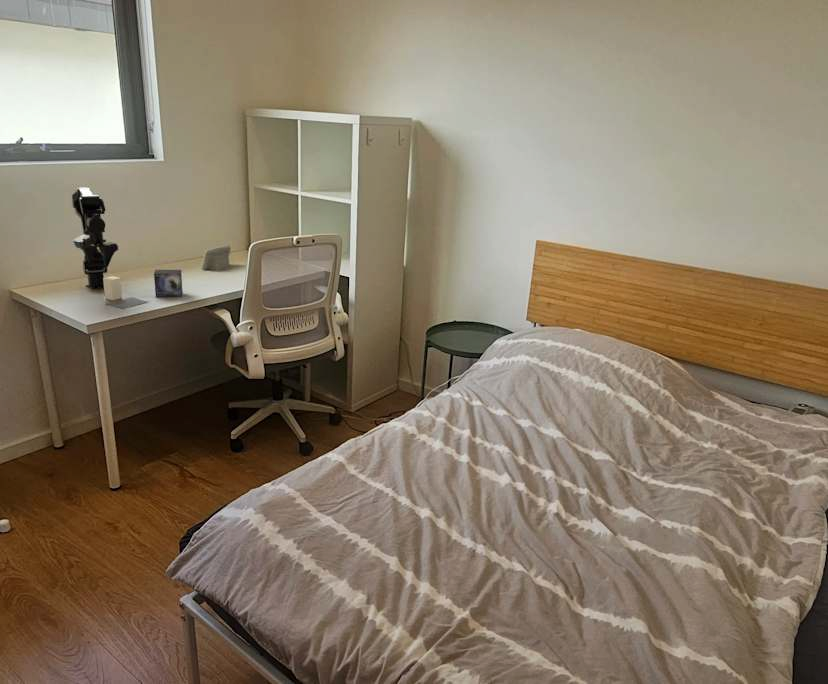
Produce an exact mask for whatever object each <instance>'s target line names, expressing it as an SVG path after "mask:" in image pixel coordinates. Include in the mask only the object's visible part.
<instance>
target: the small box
mask: <svg viewBox="0 0 828 684" xmlns="http://www.w3.org/2000/svg"><path fill="white" fill-rule="evenodd" d="M153 278H154V291H155V293H154V294H155V298H170V297H171V298H182V297H183V293H184V291H183V279H182V269H155V270H154V273H153Z"/></svg>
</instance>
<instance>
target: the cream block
mask: <svg viewBox="0 0 828 684" xmlns="http://www.w3.org/2000/svg"><path fill="white" fill-rule="evenodd" d="M121 282H122V281H121V277H118V276H111V275H110V276H107V277H104V278H103V283H104V287H103V289H104V298H105V299H104V300H105V301H109V302H114V301H118V300H122V299H123V291H122V283H121Z"/></svg>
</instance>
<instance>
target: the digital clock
mask: <svg viewBox="0 0 828 684" xmlns="http://www.w3.org/2000/svg"><path fill="white" fill-rule="evenodd" d="M230 252H231V246H230V245H223V246H218V247H213V248H210V249H206V250H205V252H204V256H203V261H202V264H201V265H202V266H201V269H202V270H203V271H204V270H205V271H206V270H211V271H215V272H218V271H221V270H226V269H229V268H230V259H229V257H230Z"/></svg>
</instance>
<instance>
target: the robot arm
mask: <svg viewBox="0 0 828 684" xmlns="http://www.w3.org/2000/svg"><path fill="white" fill-rule="evenodd" d="M71 204H72V208H73V209H74V213H75V214H76V216H78V217H79V218H80V221H81V226H82V233H83V234H81V235H79V236H77V237H76V238H73V240H72V242H73V244H74V246H75V247H76V248H77V249H80V250H81V251H82V252H83V254H84V256H83V260H82V269H83V270H82V272H83V273H84V275H85V276H86V275H87V281H88V284H86V285H85V287H87V288H90V289H94V290H97V289H100V288H104V283H103V278H105V276H104V274H107V272H109V271H108V267H109V264H110V263H111V260H112V258H113V256H114V254H115V253H116V252H117V251H119V245H118V244H117V243H115V242H111V241H110V242H109V241H107V239H105V238H104V234H103V233H105V232H106V231H105V230H106V229H105V228H106V222H105V221H104V219H103V218H102V217H101V215H105V212H106V206H105V202H104V200H103V198H102V197H100V195H98V194H94V193H93V192H92V190H91V187H77V188H76V191H75V192H74V193H73V194H72V195H71Z"/></svg>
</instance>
